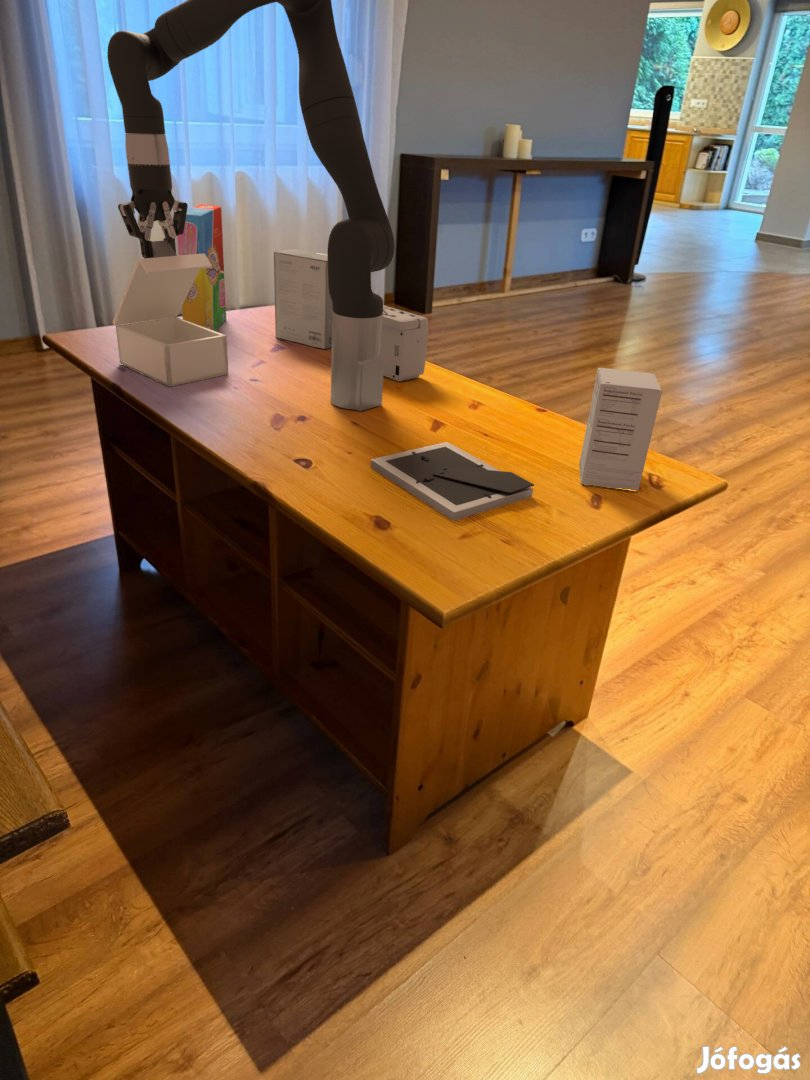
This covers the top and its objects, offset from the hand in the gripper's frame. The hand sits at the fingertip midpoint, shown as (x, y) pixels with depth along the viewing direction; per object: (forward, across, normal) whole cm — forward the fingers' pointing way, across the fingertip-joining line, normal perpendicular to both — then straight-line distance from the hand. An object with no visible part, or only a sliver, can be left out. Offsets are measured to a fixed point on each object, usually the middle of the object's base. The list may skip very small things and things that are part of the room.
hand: (159, 259), depth 149 cm
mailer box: (+22, 0, -1) cm, 22 cm away
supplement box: (+26, +24, -89) cm, 96 cm away
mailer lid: (+8, 0, -1) cm, 8 cm away
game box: (+21, +24, +22) cm, 39 cm away
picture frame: (+26, +2, -73) cm, 77 cm away
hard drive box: (+22, +38, 0) cm, 44 cm away
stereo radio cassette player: (+23, +35, -26) cm, 49 cm away
